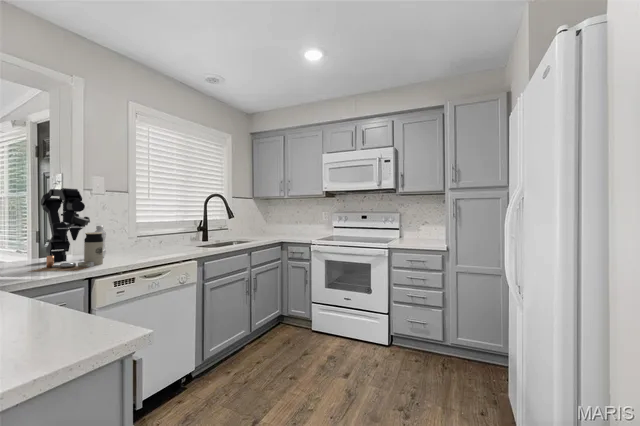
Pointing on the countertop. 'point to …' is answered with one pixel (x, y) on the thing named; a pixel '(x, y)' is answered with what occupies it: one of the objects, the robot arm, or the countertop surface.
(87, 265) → the stand
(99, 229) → the plastic bottle
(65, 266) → the grey ball copper handle
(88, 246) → the travel mug
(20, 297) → the countertop surface
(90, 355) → the countertop surface
